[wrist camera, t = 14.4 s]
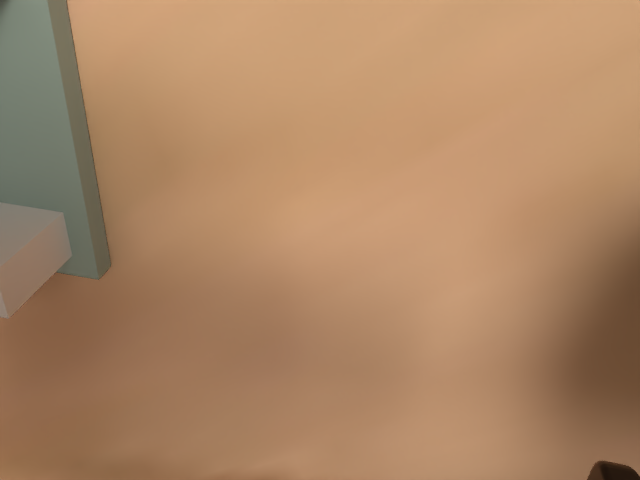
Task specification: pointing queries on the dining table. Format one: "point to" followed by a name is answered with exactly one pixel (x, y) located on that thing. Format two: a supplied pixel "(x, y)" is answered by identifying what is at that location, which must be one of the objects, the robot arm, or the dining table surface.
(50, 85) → the vise
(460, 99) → the dining table surface
